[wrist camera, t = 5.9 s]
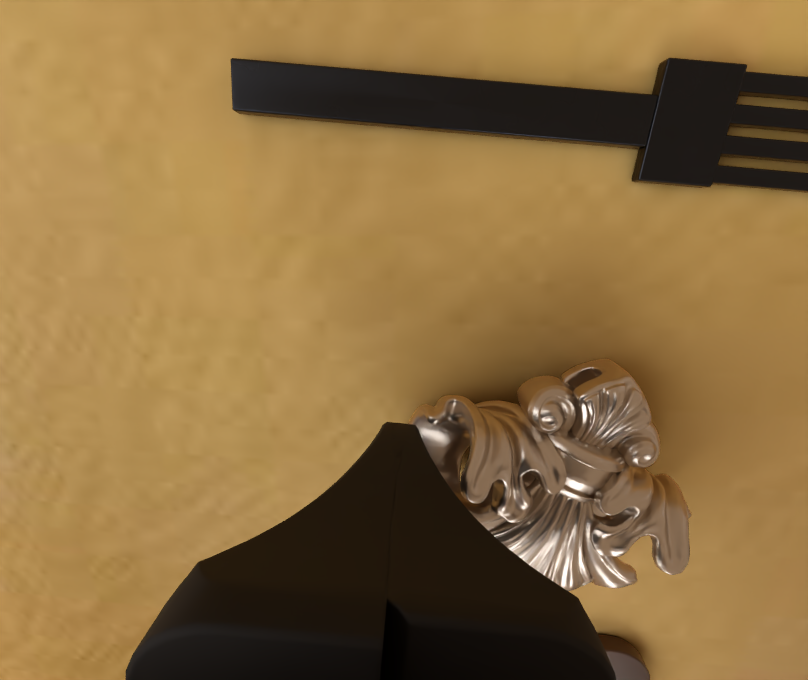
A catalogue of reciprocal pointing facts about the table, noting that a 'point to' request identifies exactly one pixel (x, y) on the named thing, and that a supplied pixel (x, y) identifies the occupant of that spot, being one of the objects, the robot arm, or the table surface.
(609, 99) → the black fork
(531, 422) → the ornament
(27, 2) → the table surface
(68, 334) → the table surface
